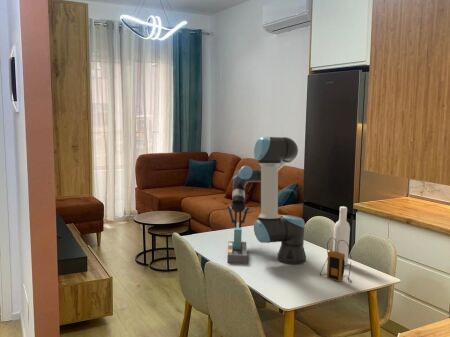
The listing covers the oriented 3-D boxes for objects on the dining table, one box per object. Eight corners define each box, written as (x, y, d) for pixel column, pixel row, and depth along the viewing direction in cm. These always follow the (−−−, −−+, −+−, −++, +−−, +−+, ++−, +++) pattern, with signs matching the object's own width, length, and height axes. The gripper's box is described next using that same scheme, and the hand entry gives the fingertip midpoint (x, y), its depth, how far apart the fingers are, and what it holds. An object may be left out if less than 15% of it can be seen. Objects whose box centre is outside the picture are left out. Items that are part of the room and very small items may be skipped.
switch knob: (233, 246, 246) (234, 227, 245) (241, 246, 246) (241, 227, 245) (233, 249, 241) (233, 229, 240) (241, 249, 241) (242, 230, 240)
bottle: (338, 266, 226) (341, 209, 222) (328, 261, 233) (332, 205, 229) (350, 265, 229) (354, 208, 225) (341, 260, 236) (345, 205, 232)
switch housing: (228, 248, 250) (228, 240, 249) (245, 249, 250) (246, 241, 249) (227, 262, 226) (227, 254, 225) (246, 263, 226) (247, 255, 225)
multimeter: (357, 279, 209) (360, 238, 207) (347, 284, 202) (350, 242, 199) (329, 271, 219) (331, 231, 217) (319, 276, 212) (321, 235, 209)
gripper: (249, 202, 265) (248, 237, 251) (227, 201, 265) (225, 236, 251) (249, 195, 259) (249, 230, 245) (227, 194, 259) (225, 229, 245)
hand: (237, 233), depth 248 cm, fingers closed
